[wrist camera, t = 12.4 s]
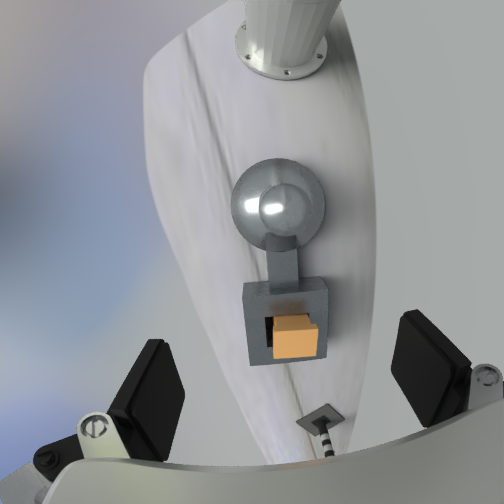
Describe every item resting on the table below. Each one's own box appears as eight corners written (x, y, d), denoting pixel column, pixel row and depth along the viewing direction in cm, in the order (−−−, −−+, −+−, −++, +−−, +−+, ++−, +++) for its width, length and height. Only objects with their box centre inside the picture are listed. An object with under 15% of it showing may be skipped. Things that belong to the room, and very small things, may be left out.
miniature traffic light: (347, 417, 42) (390, 544, 13) (314, 435, 44) (341, 561, 14) (328, 400, 41) (372, 547, 12) (294, 420, 42) (315, 563, 13)
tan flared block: (269, 298, 37) (273, 331, 28) (303, 296, 37) (318, 328, 28) (269, 321, 37) (273, 358, 29) (302, 320, 37) (316, 355, 28)
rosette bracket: (228, 165, 33) (219, 154, 23) (315, 159, 32) (339, 147, 23) (247, 346, 38) (246, 390, 29) (321, 338, 38) (338, 379, 28)
